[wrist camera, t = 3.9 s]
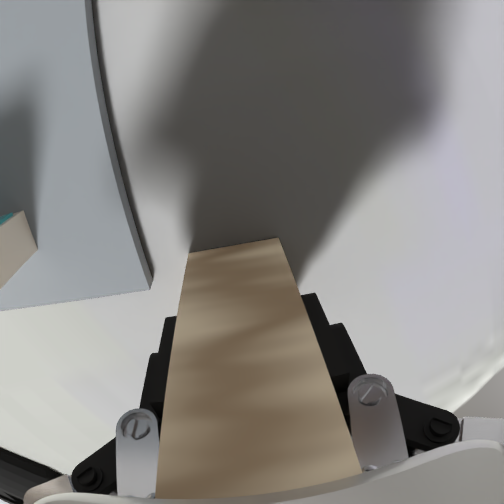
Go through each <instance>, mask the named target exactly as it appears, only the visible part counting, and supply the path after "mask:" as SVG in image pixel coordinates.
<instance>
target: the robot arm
mask: <svg viewBox="0 0 504 504" xmlns="http://www.w3.org/2000/svg"><path fill="white" fill-rule="evenodd" d="M301 298H302V301H303V303H304V306H305V309H306V311H307V314H308V317H309V320H310V322H311V325H312V328H313V331H314V333H315V336H316V339H317V342H318V344H319V347H320V350H321V353H322V355H323V358H324V361H325V364H326V367H327V369H328V372H329V375H330V378H331V381H332V384H333V387H334V389H335V392H336V395H337V398H338V401H339V404H340V407H341V410H342V413H343V416H344V419H345V422H346V425H347V427H348V430H349V433H350V436H351V439H352V442H353V446H354V449H355V452H356V455H357V458H358V461H359V464H360V467H361V470H362V473H361V474H358V475H354V476H351V477H347V478H343V479H339V480H335V481H331V482H327V483H323V484H318V485H313V486H308V487H303V488H298V489H293V490H287V491H281V492H274V493H267V494H259V495H250V496H240V497H228V498H211V499H155V491H156V477H157V466H158V455H159V445H160V435H161V426H162V417H163V409H164V401H165V393H166V385H167V378H168V371H169V364H170V357H171V351H172V344H173V338H174V331H175V325H176V319H177V316H173V317H166V319H165V322H164V327H163V332H162V337H161V342H160V346H159V351H158V353H152V354H151V355H150V358H149V363H148V367H147V372H146V377H145V382H144V387H143V392H142V397H141V402H140V408H139V409H133V410H130V411H128V412H127V413H125V414H124V415H123V416H122V417H121V418H120V419H119V421H118V423H117V426H116V437H115V438H114V439H112V440H111V441H110V442H108V443H107V444H106V445H104V446H103V447H102V448H100V449H99V450H97V451H96V452H95V453H93V454H92V455H91V456H89V457H88V458H86V459H85V460H84V461H82V462H81V463H79V464H78V465H77V466H76V467H75V469H74V470H73V472H72V475H70V476H69V475H68V474H65V475H63V476H60V477H58V478H55V479H53V480H51V481H48V482H46V483H43V484H41V485H38V486H35V487H33V488H31V489H29V490H28V491H27V492H26V493H25V495H24V499H23V502H24V504H504V419H501V418H481V417H468V416H464V417H463V419H458V418H457V417H456V416H455V415H454V414H452V413H451V412H449V411H447V410H443V409H440V408H437V407H434V406H431V405H427V404H424V403H421V402H418V401H415V400H412V399H409V398H406V397H403V396H400V395H397V394H395V393H394V389H393V386H392V384H391V382H390V381H389V380H388V379H387V378H385V377H383V376H381V375H377V374H367V373H366V371H365V369H364V367H363V364H362V362H361V360H360V358H359V356H358V354H357V352H356V350H355V347H354V345H353V343H352V341H351V339H350V337H349V335H348V333H347V331H346V329H345V327H344V325H343V324H342V323H338V324H333V325H329V322H328V320H327V318H326V316H325V313H324V311H323V309H322V306H321V304H320V302H319V300H318V297H317V295H316V293H311V294H305V295H301Z"/></svg>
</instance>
